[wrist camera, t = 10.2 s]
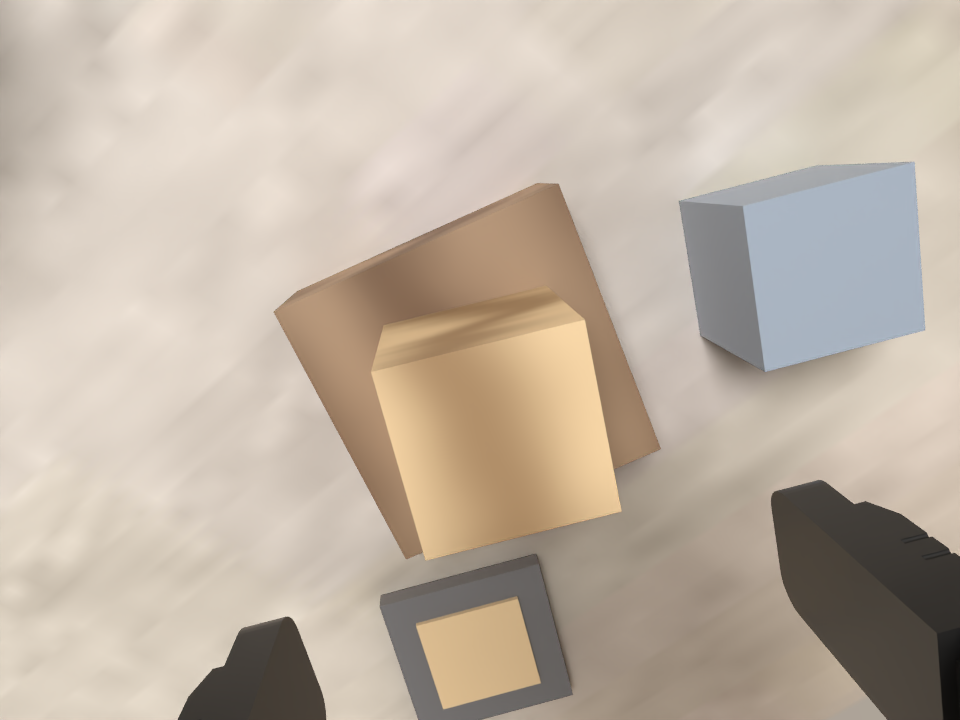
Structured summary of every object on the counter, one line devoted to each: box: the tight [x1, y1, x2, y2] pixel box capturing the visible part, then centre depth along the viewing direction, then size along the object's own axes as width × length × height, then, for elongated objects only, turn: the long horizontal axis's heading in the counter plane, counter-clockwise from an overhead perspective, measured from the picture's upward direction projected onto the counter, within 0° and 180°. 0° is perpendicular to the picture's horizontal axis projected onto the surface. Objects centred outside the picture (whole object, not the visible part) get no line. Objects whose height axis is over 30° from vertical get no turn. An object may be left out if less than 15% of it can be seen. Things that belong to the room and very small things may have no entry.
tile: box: [380, 554, 573, 720], centre depth 30 cm, size 7×7×1 cm
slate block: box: [679, 162, 925, 372], centre depth 24 cm, size 6×6×6 cm
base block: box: [274, 183, 661, 559], centre depth 25 cm, size 10×10×4 cm
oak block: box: [371, 286, 622, 560], centre depth 20 cm, size 6×6×6 cm
